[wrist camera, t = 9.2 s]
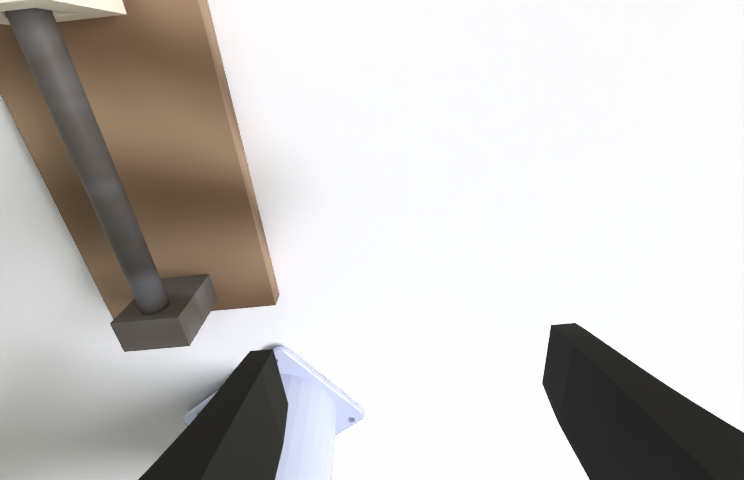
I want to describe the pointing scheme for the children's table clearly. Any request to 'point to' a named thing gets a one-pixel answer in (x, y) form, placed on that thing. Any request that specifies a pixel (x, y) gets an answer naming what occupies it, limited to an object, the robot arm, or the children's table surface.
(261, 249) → the rod board
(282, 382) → the robot arm
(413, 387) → the children's table surface
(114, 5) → the sleeve
